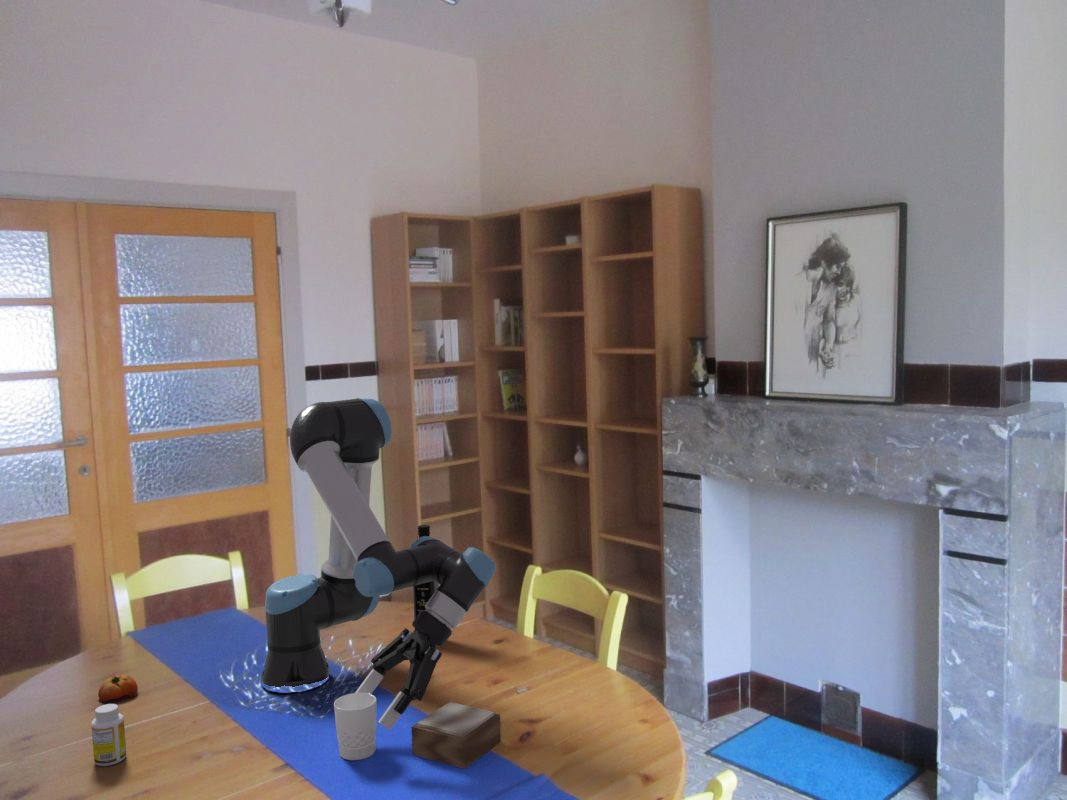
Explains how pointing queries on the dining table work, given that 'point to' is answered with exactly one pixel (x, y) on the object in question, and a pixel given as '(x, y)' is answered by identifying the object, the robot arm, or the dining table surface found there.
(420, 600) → the wine bottle
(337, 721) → the white cup
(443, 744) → the base
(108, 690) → the tomato
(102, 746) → the supplement bottle
